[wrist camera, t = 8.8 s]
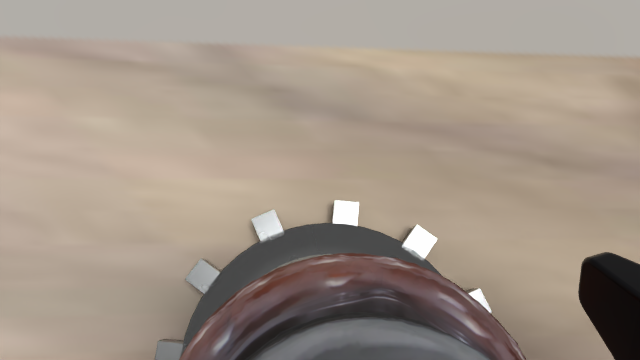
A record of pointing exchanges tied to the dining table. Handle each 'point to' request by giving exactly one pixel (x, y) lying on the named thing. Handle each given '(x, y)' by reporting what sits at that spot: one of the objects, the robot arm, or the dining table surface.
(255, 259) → the sprocket plate
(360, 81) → the dining table surface
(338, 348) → the supplement bottle
